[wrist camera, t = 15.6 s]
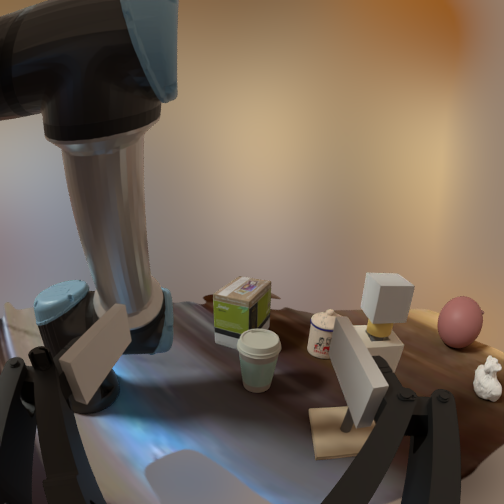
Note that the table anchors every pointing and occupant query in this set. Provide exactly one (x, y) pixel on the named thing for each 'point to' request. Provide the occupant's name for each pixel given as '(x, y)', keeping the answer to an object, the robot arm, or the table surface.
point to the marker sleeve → (382, 346)
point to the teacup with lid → (321, 333)
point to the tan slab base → (335, 434)
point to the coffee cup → (258, 358)
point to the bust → (488, 380)
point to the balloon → (460, 322)
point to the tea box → (241, 309)
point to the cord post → (383, 311)
